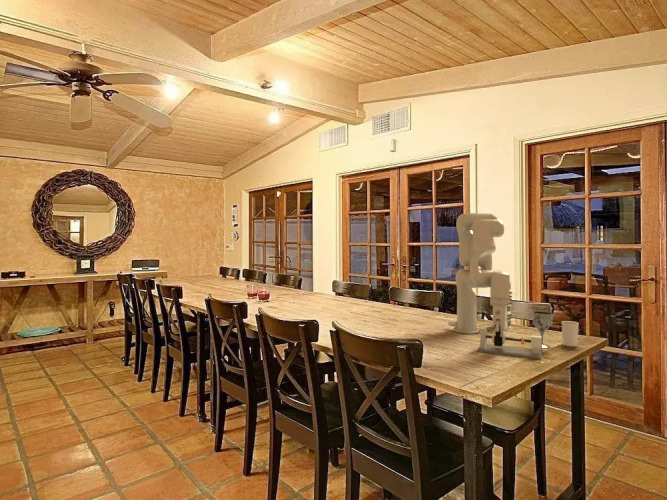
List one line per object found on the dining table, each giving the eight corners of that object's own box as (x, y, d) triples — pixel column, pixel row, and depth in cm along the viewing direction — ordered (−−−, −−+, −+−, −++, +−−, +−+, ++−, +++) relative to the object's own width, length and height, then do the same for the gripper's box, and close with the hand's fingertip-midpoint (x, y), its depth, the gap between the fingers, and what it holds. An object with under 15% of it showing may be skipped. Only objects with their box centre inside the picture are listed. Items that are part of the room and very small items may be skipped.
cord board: (477, 351, 182) (477, 330, 182) (482, 345, 193) (482, 325, 192) (540, 359, 171) (541, 336, 171) (542, 352, 182) (542, 330, 181)
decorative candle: (508, 325, 236) (509, 279, 235) (514, 329, 227) (515, 281, 226) (491, 324, 237) (492, 279, 236) (496, 328, 228) (496, 281, 227)
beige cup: (580, 347, 191) (580, 324, 190) (563, 346, 192) (564, 323, 192) (575, 343, 197) (575, 321, 197) (559, 342, 198) (559, 320, 198)
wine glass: (549, 344, 194) (550, 311, 194) (553, 349, 187) (554, 314, 186) (530, 343, 197) (531, 310, 196) (533, 347, 189) (534, 313, 188)
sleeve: (492, 342, 183) (492, 333, 183) (493, 340, 187) (493, 331, 187) (504, 344, 181) (504, 334, 181) (505, 342, 184) (505, 332, 184)
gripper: (507, 305, 174) (506, 350, 175) (511, 299, 189) (510, 341, 189) (487, 303, 177) (486, 348, 178) (493, 298, 192) (492, 339, 193)
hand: (498, 344), depth 184 cm, fingers closed on sleeve, 4 cm apart
